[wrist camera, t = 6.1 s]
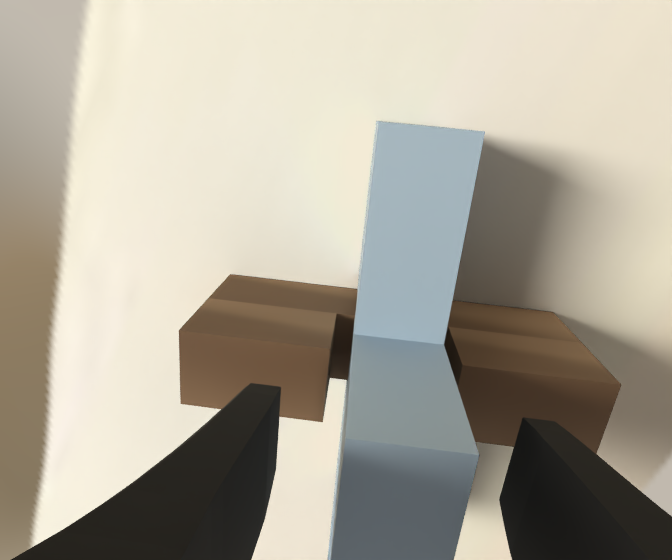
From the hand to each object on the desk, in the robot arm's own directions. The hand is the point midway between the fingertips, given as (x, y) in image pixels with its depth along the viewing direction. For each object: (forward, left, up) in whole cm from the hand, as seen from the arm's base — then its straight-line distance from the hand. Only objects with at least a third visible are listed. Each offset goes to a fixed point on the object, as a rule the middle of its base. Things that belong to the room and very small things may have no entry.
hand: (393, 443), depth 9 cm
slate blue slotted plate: (0, 0, -6) cm, 6 cm away
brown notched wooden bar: (0, 0, -6) cm, 6 cm away
